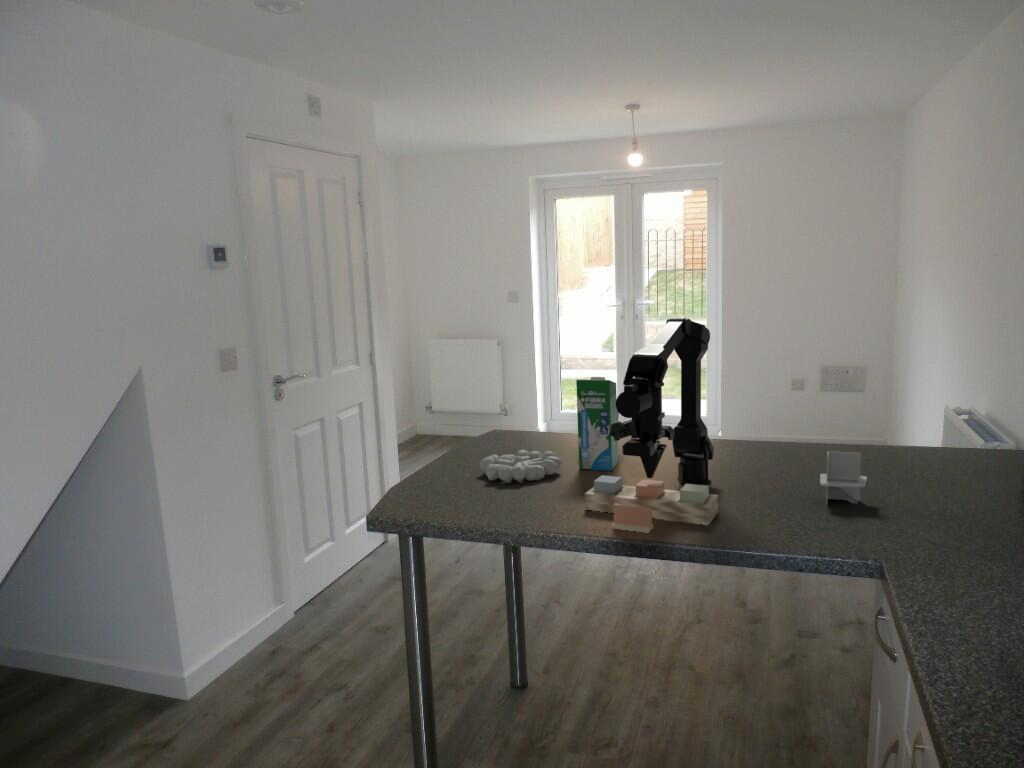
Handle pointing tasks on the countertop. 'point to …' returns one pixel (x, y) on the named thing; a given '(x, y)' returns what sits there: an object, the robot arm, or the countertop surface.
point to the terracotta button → (650, 489)
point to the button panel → (656, 505)
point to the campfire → (521, 465)
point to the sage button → (694, 493)
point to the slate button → (608, 484)
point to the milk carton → (596, 423)
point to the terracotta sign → (632, 518)
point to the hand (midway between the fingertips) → (649, 477)
